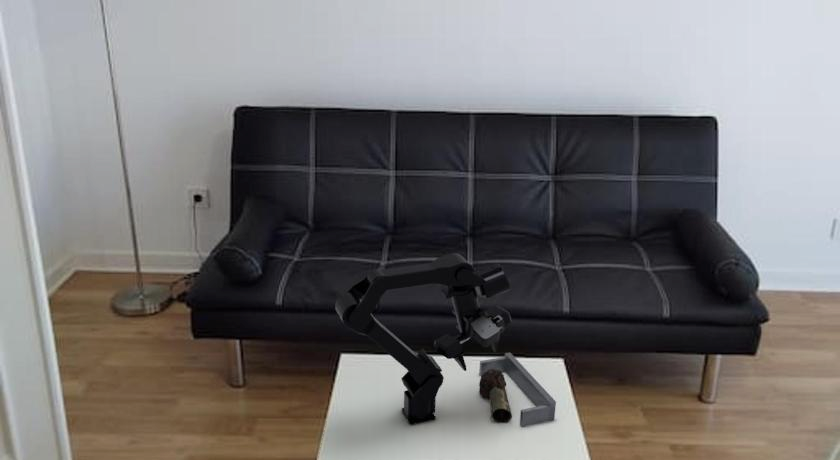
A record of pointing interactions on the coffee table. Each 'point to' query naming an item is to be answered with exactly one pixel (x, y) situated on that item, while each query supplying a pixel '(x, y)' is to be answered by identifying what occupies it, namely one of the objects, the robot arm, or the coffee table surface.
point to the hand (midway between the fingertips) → (480, 360)
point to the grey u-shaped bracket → (524, 389)
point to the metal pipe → (496, 395)
